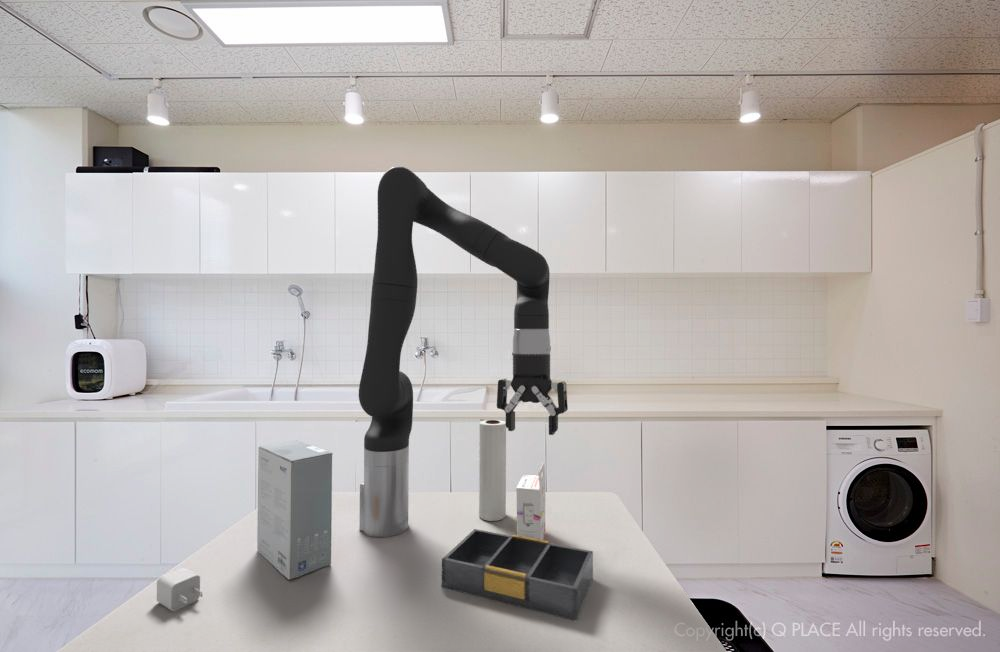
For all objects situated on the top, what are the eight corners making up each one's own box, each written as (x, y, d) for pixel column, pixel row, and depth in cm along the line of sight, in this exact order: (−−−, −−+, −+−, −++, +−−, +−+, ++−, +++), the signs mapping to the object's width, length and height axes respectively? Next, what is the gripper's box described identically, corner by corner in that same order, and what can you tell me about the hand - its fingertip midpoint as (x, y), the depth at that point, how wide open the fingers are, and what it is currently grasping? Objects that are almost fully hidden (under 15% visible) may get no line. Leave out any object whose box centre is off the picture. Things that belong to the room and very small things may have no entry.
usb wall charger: (185, 591, 72) (186, 566, 72) (208, 604, 68) (209, 578, 69) (156, 604, 69) (156, 577, 69) (179, 619, 65) (179, 591, 65)
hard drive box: (333, 565, 80) (334, 452, 80) (288, 582, 75) (290, 461, 75) (296, 537, 91) (297, 438, 91) (255, 551, 85) (256, 445, 85)
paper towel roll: (505, 522, 99) (506, 424, 99) (478, 521, 99) (478, 424, 99) (505, 509, 106) (506, 417, 106) (479, 509, 106) (480, 417, 106)
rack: (440, 588, 73) (440, 558, 73) (474, 553, 85) (474, 527, 85) (575, 622, 64) (575, 588, 65) (592, 578, 76) (592, 549, 76)
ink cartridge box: (522, 529, 95) (522, 459, 95) (545, 531, 94) (545, 460, 94) (515, 548, 86) (515, 471, 87) (541, 551, 86) (541, 473, 86)
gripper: (491, 351, 90) (491, 433, 90) (561, 353, 85) (561, 439, 84) (505, 350, 97) (505, 426, 97) (570, 351, 91) (570, 431, 91)
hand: (531, 432), depth 91 cm, fingers open, 8 cm apart
